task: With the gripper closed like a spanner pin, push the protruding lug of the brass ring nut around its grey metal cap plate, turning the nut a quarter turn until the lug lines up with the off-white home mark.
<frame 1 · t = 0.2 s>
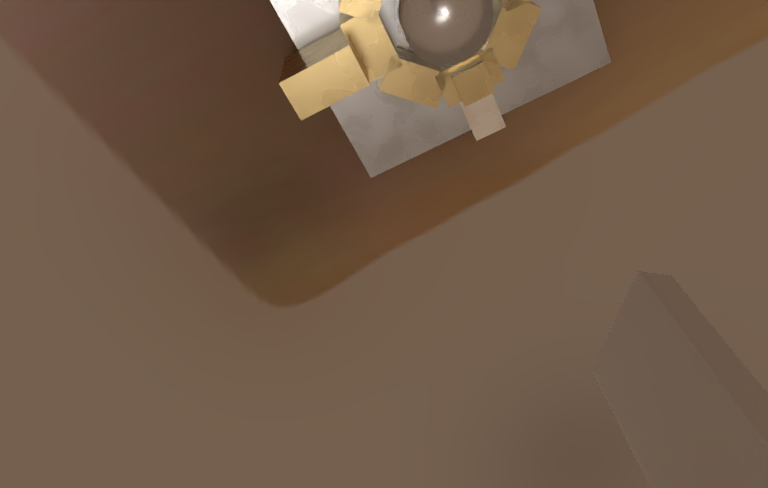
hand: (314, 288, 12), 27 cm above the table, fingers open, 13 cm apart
ring nut: (407, 27, 31), point 4 cm above the table, hinge at -90.0°
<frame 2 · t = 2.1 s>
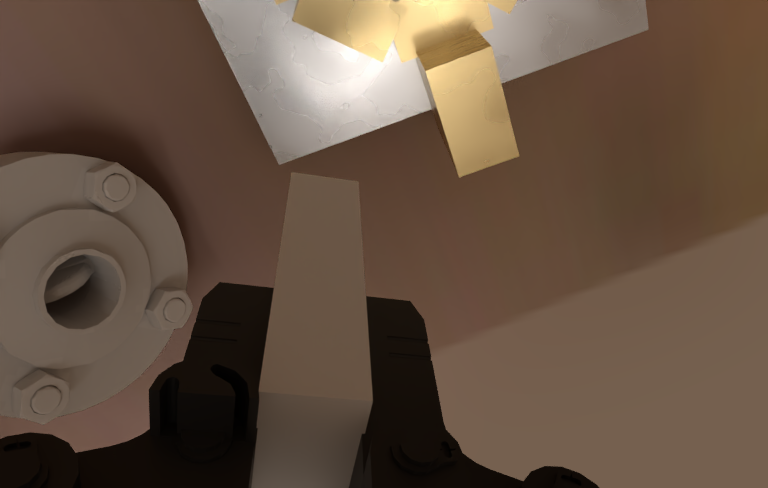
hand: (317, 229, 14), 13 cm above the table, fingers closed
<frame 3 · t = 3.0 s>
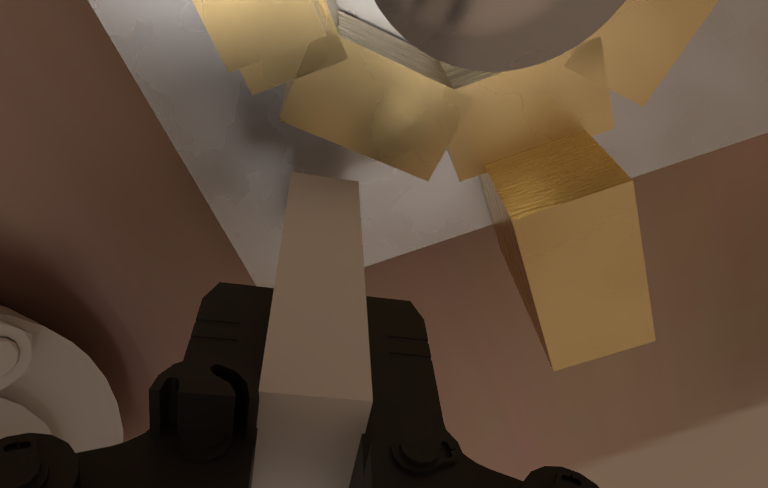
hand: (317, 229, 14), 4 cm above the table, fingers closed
ring nut: (502, 12, 11), point 4 cm above the table, hinge at -90.0°
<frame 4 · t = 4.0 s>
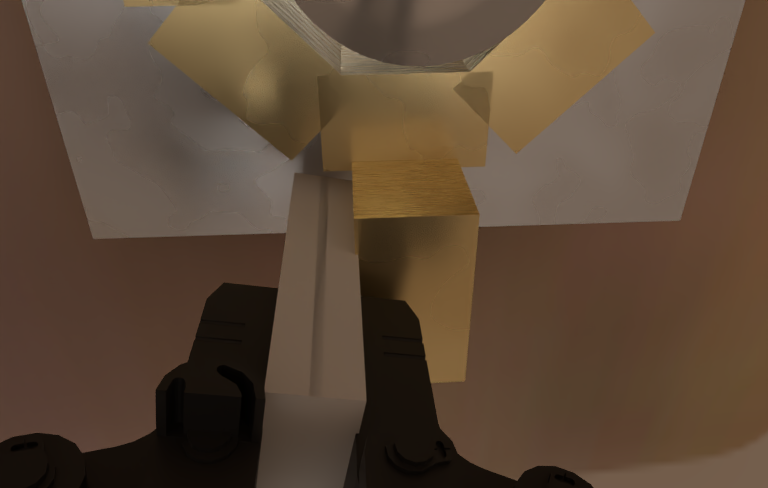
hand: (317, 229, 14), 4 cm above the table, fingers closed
ring nut: (406, 13, 11), point 4 cm above the table, hinge at -89.7°, touching gripper
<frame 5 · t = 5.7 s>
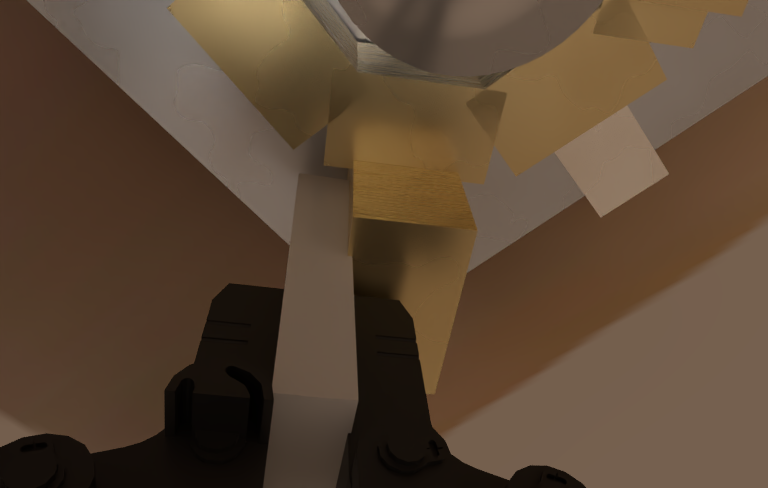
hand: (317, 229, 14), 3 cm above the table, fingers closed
ring nut: (432, 21, 11), point 4 cm above the table, hinge at -47.3°, touching gripper
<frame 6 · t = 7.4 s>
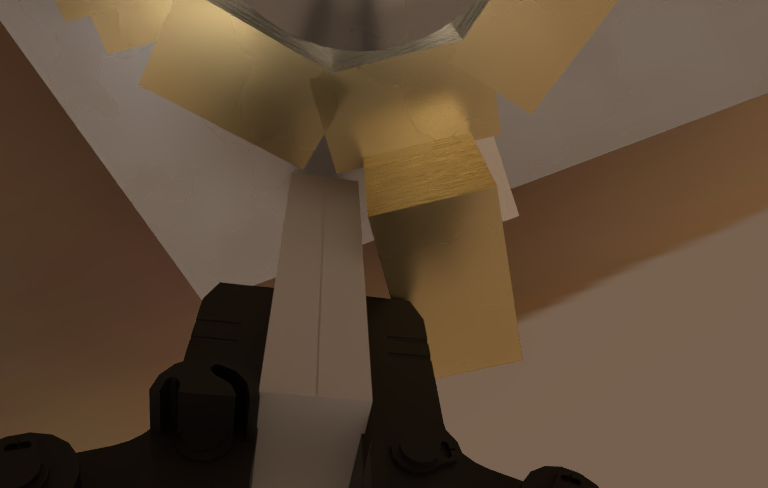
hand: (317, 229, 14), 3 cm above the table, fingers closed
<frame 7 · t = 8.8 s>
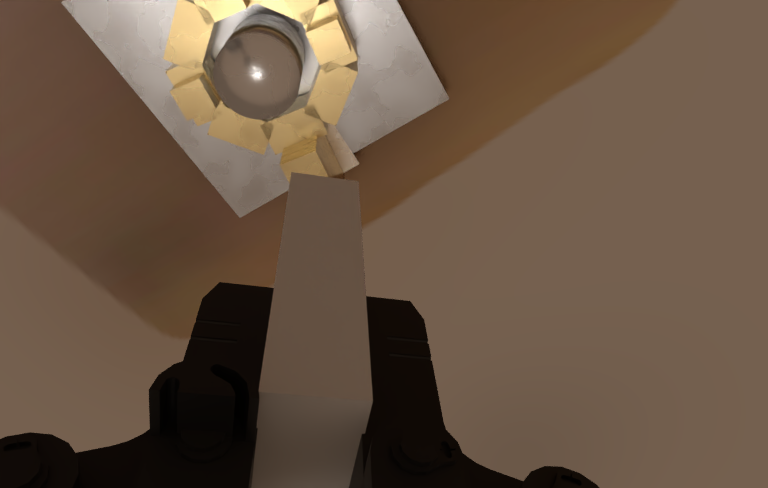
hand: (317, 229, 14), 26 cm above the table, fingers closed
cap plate: (269, 47, 37), on the table
ring nut: (277, 97, 34), point 4 cm above the table, hinge at -8.6°
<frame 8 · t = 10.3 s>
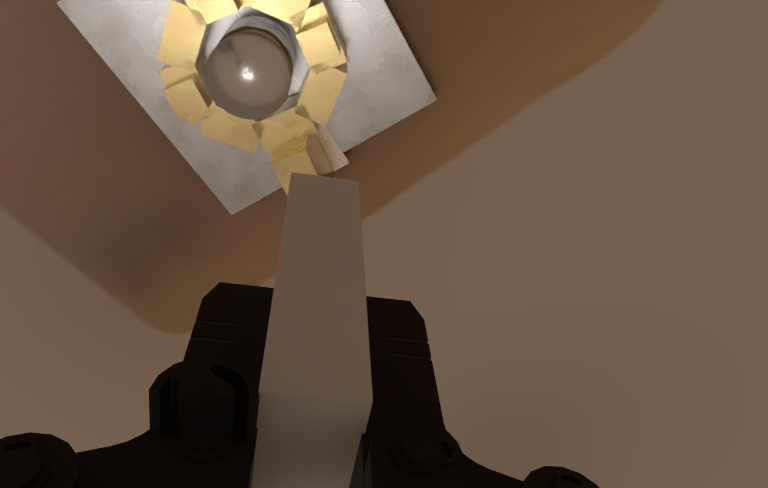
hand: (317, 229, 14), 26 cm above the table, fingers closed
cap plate: (261, 48, 37), on the table
ring nut: (268, 97, 35), point 4 cm above the table, hinge at -8.6°
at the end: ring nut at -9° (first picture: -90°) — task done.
